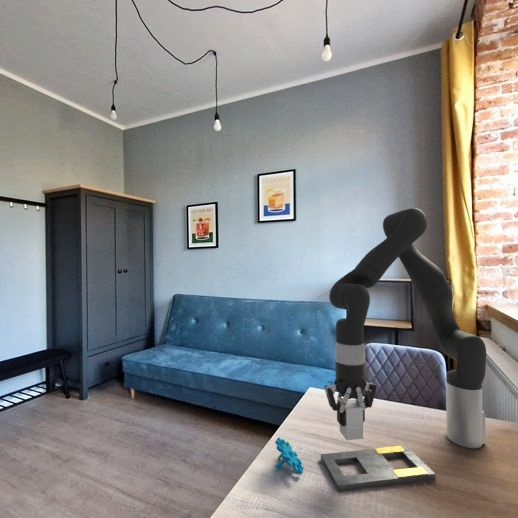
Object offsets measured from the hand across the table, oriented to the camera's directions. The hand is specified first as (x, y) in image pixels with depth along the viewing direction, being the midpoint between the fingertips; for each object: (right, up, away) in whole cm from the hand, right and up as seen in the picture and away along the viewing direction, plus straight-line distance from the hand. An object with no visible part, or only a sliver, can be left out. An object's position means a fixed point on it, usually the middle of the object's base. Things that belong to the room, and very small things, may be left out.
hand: (350, 423), depth 80 cm
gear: (-16, -13, +2) cm, 21 cm away
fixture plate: (+7, -13, +1) cm, 15 cm away
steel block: (0, -3, 0) cm, 3 cm away
